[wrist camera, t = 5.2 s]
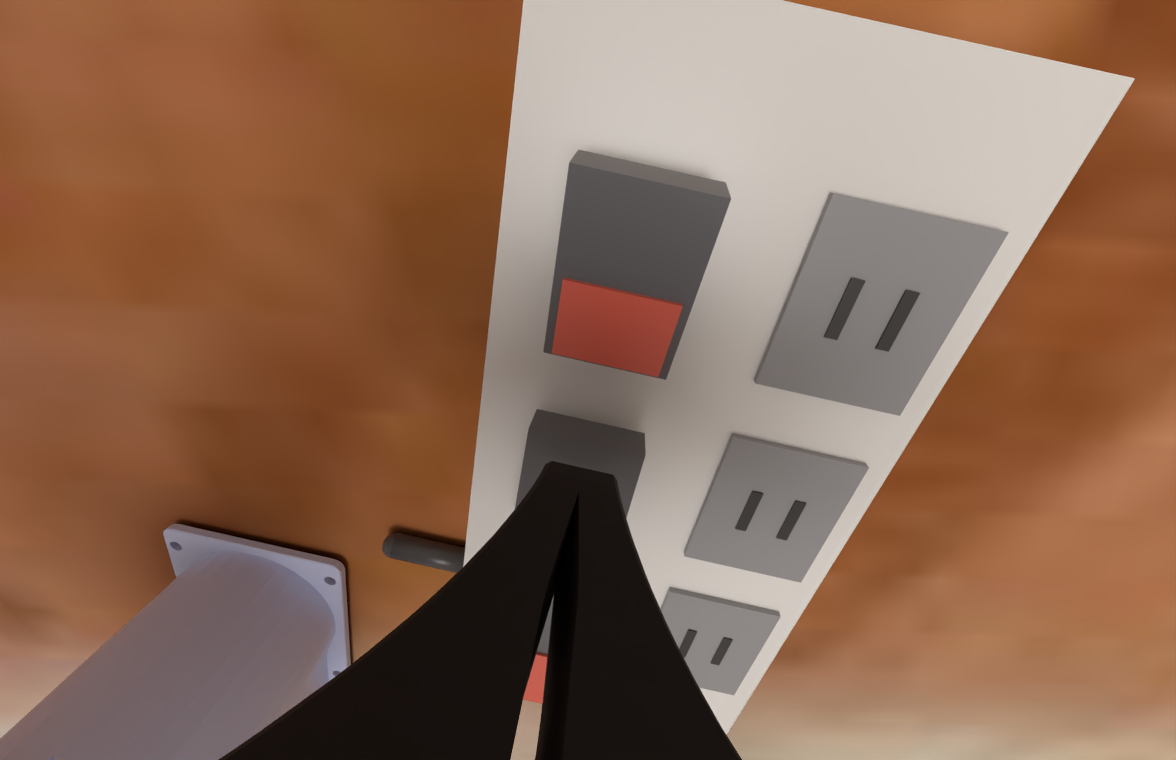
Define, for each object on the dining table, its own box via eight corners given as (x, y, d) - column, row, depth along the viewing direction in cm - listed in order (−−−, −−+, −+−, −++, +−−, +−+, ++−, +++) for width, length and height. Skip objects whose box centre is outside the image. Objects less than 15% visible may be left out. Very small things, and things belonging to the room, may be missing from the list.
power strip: (714, 655, 21) (727, 741, 18) (389, 581, 21) (346, 655, 18) (1006, 98, 11) (1148, 76, 8) (391, -39, 11) (295, -113, 8)
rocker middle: (610, 539, 14) (608, 579, 12) (518, 518, 14) (506, 557, 12) (644, 425, 12) (645, 457, 11) (539, 401, 12) (527, 430, 11)
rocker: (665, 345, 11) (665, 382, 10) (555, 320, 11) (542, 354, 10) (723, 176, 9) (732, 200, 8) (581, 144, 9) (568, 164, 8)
